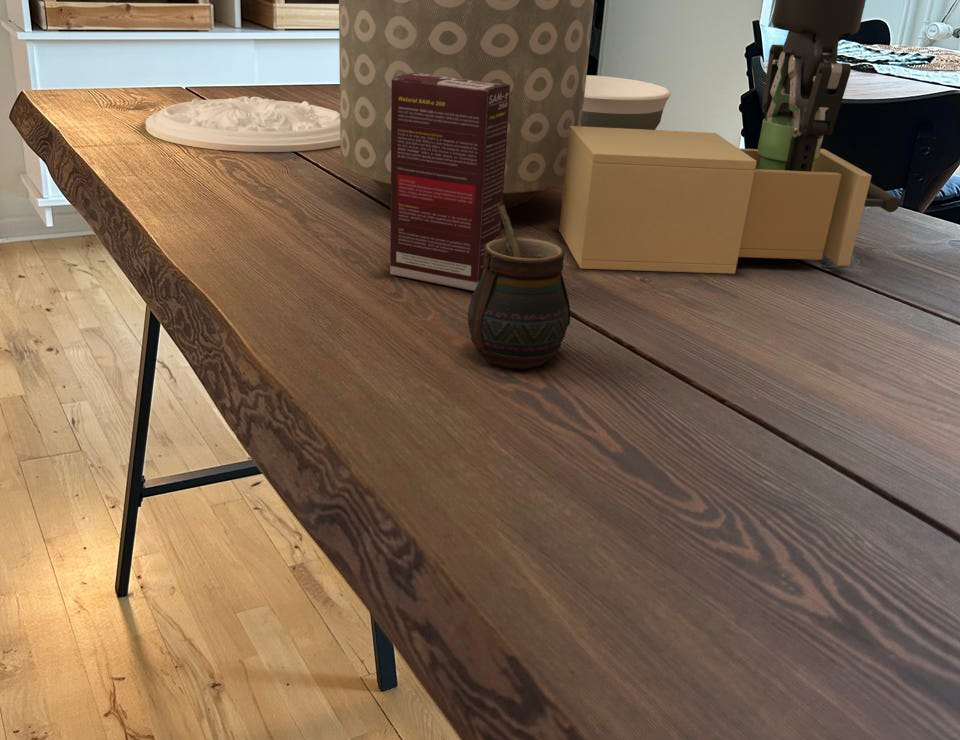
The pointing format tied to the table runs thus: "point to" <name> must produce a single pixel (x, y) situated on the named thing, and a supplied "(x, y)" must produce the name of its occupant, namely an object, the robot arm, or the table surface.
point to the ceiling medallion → (247, 125)
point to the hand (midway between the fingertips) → (784, 172)
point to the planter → (467, 76)
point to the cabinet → (654, 200)
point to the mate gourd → (519, 301)
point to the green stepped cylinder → (777, 143)
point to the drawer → (809, 210)
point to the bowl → (622, 103)
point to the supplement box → (446, 176)
